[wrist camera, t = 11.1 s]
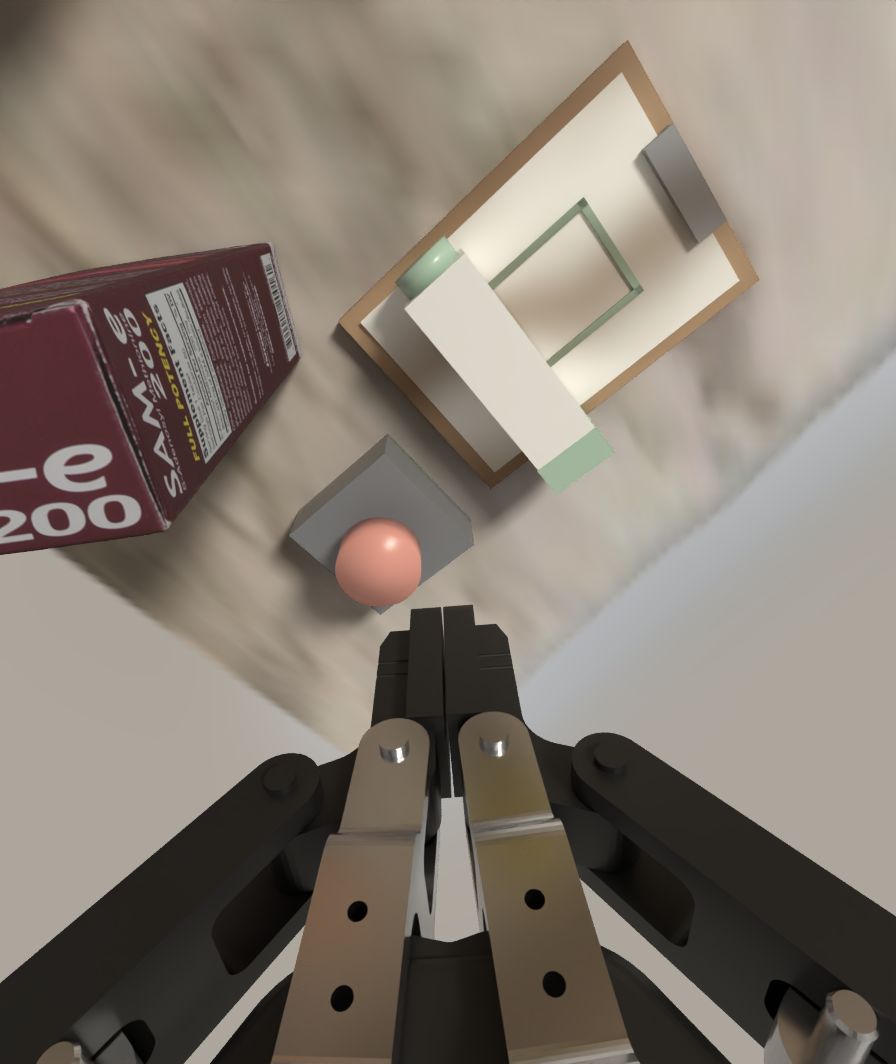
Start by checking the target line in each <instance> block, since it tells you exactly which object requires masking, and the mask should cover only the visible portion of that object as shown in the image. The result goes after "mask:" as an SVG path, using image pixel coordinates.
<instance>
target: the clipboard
mask: <svg viewBox="0 0 896 1064" xmlns="http://www.w3.org/2000/svg"><path fill="white" fill-rule="evenodd" d="M443 236H445V237H446V239H447V240H448V241H449V243H450V244H451V245H452V247H453V248H454V249H455V251H456V252H457V251H458V250H459V249H460V248H461V249H462V250H463V251H464V253H465V254H466V255H467V257H468V258H469V259H470V261H471V262H472V263H473V265H474V266H475V267H476V269H477V270H478V271H479V273H480V274H481V275H482V277H483V278H484V279H485V281H486V282H487V283H488V285H489V286H490V287H491V289H492V290H493V291H494V293H495V294H496V295H497V297H498V298H499V299H500V301H501V302H502V303H503V305H504V306H505V307H506V309H507V310H508V311H509V313H510V314H511V315H512V317H513V318H514V319H515V321H516V322H517V324H518V325H519V326H520V328H521V329H522V330H523V332H524V333H525V334H526V336H527V337H528V338H529V340H530V341H531V342H532V344H533V345H534V346H535V348H536V349H537V350H538V352H539V353H540V354H541V356H542V357H543V358H544V360H545V361H546V362H547V364H548V365H549V366H550V368H551V369H552V370H553V372H554V373H555V374H556V376H557V377H558V378H559V380H560V381H561V382H562V384H563V385H564V386H565V388H566V389H567V390H568V392H569V393H570V394H571V396H572V397H573V398H574V400H575V401H576V403H577V404H578V405H579V406H580V407H581V408H582V409H583V410H584V412H585V413H586V414H588V413H589V412H590V411H591V410H593V409H594V408H595V407H597V406H598V405H599V404H600V403H602V402H603V401H604V400H606V399H607V398H608V397H609V396H611V395H612V394H613V393H615V392H616V391H617V390H618V389H620V388H621V387H622V386H624V385H625V384H626V383H627V382H629V381H630V380H631V379H633V378H634V377H635V376H636V375H638V374H639V373H640V372H642V371H643V370H644V369H646V368H647V367H648V366H649V365H651V364H652V363H653V362H655V361H656V360H657V359H658V358H660V357H661V356H662V355H664V354H665V353H666V352H667V351H669V350H670V349H671V348H673V347H674V346H675V345H676V344H678V343H679V342H680V341H682V340H683V339H684V338H685V337H687V336H688V335H689V334H691V333H692V332H693V331H694V330H696V329H697V328H698V327H700V326H701V325H702V324H704V323H705V322H706V321H707V320H709V319H710V318H711V317H713V316H714V315H715V314H716V313H718V312H719V311H720V310H722V309H723V308H724V307H725V306H727V305H728V304H729V303H731V302H732V301H733V300H734V299H736V298H737V297H738V296H740V295H741V294H742V293H743V292H745V291H746V290H747V289H749V288H750V287H751V286H752V285H754V284H755V283H756V282H758V281H759V278H758V276H757V274H756V272H755V270H754V269H753V267H752V265H751V263H750V261H749V260H748V258H747V256H746V254H745V252H744V250H743V249H742V247H741V245H740V243H739V241H738V240H737V238H736V236H735V234H734V232H733V230H732V229H731V227H730V225H729V223H728V221H727V219H726V218H725V216H724V214H723V212H722V210H721V208H720V207H719V205H718V203H717V201H716V199H715V198H714V196H713V194H712V192H711V190H710V188H709V187H708V185H707V183H706V181H705V179H704V178H703V176H702V174H701V172H700V170H699V168H698V167H697V165H696V163H695V161H694V159H693V158H692V156H691V154H690V152H689V150H688V148H687V147H686V145H685V143H684V141H683V139H682V137H681V136H680V134H679V132H678V130H677V128H676V127H675V125H674V123H673V121H672V119H671V118H670V116H669V114H668V112H667V110H666V108H665V107H664V105H663V103H662V101H661V99H660V97H659V96H658V94H657V92H656V90H655V88H654V87H653V85H652V83H651V81H650V79H649V77H648V76H647V74H646V72H645V70H644V68H643V67H642V65H641V63H640V61H639V59H638V57H637V56H636V54H635V52H634V50H633V48H632V46H631V45H630V43H629V41H628V40H627V41H626V42H625V43H623V44H622V45H621V46H620V47H619V48H618V49H617V50H616V51H615V52H614V53H613V54H612V55H611V56H610V57H609V58H608V59H607V60H606V61H605V62H604V63H603V64H602V65H601V66H599V67H598V68H597V69H596V70H595V71H594V72H593V73H592V74H591V75H590V76H589V77H588V78H587V79H586V80H585V81H584V82H583V83H582V84H581V85H580V86H579V87H578V88H577V89H576V90H575V91H574V92H573V93H572V94H571V95H570V96H569V97H568V98H567V99H566V100H565V101H564V102H563V103H561V104H560V105H559V106H558V107H557V108H556V109H555V110H554V111H553V112H552V113H551V114H550V115H549V116H548V117H547V118H546V119H545V120H544V121H543V122H542V123H541V124H540V125H539V126H538V127H537V128H536V129H535V130H534V131H533V132H532V133H531V134H530V135H529V136H528V137H527V138H526V139H525V140H523V141H522V142H521V143H520V144H519V145H518V146H517V147H516V148H515V149H514V150H513V151H512V152H511V153H510V154H509V155H508V156H507V157H506V158H505V159H504V160H503V161H502V162H501V163H500V164H499V165H498V166H497V167H496V168H495V169H494V170H493V171H492V172H491V173H490V174H489V175H488V176H487V177H485V178H484V179H483V180H482V181H481V182H480V183H479V184H478V185H477V186H476V187H475V188H474V189H473V190H472V191H471V192H470V193H469V194H468V195H467V196H466V197H465V198H464V199H463V200H462V201H461V202H460V203H459V204H458V205H457V206H456V207H455V208H454V209H453V210H452V211H451V212H450V213H449V214H447V215H446V216H445V217H444V218H443V219H442V220H441V221H440V222H439V223H438V224H437V225H436V226H435V227H434V228H433V229H432V230H431V231H430V232H429V233H428V234H427V235H426V236H425V237H424V238H423V239H422V240H421V241H420V242H419V243H418V244H417V245H416V246H415V247H414V248H413V249H412V250H411V251H409V252H408V253H407V254H406V255H405V256H404V257H403V258H402V259H401V260H400V261H399V262H398V263H397V264H396V265H395V266H394V267H393V268H392V269H391V270H390V271H389V272H388V273H387V274H386V275H385V276H384V277H383V278H382V279H381V280H380V281H379V282H378V283H377V284H376V285H375V286H374V287H373V288H371V289H370V290H369V291H368V292H367V293H366V294H365V295H364V296H363V297H362V298H361V299H360V300H359V301H358V302H357V303H356V304H355V305H354V306H353V307H352V308H351V309H350V310H349V311H348V312H347V313H346V314H345V315H344V316H343V317H342V318H341V319H340V320H339V321H338V322H339V323H340V324H341V325H342V326H343V328H344V329H345V330H346V331H347V332H348V333H349V334H350V335H351V336H352V337H353V338H354V340H355V341H356V342H357V343H358V344H359V345H360V346H361V347H362V348H363V349H364V351H365V352H366V353H367V354H368V355H369V356H370V357H371V358H372V359H373V360H374V361H375V363H376V364H377V365H378V366H379V367H380V368H381V369H382V370H383V371H384V372H385V374H386V375H387V376H388V377H389V378H390V379H391V380H392V381H393V382H394V383H395V385H396V386H397V387H398V388H399V389H400V390H401V391H402V392H403V393H404V394H405V395H406V397H407V398H408V399H409V400H410V401H411V402H412V403H413V404H414V405H415V406H416V408H417V409H418V410H419V411H420V412H421V413H422V414H423V415H424V416H425V417H426V418H427V420H428V421H429V422H430V423H431V424H432V425H433V426H434V427H435V428H436V429H437V431H438V432H439V433H440V434H441V435H442V436H443V437H444V438H445V439H446V440H447V442H448V443H449V444H450V445H451V446H452V447H453V448H454V449H455V450H456V451H457V452H458V454H459V455H460V456H461V457H462V458H463V459H464V460H465V461H466V462H467V463H468V465H469V466H470V467H471V468H472V469H473V470H474V471H475V472H476V473H477V474H478V475H479V477H480V478H481V479H482V480H483V481H484V482H485V483H486V484H487V485H488V486H489V488H490V489H491V488H492V487H493V486H495V485H496V484H497V483H499V482H500V481H501V480H502V479H504V478H505V477H506V476H508V475H509V474H510V473H511V472H513V471H514V470H515V469H517V468H518V467H519V466H521V465H522V464H523V463H524V462H526V461H527V460H528V457H527V456H526V455H525V454H524V453H523V451H522V450H521V449H520V448H519V447H518V445H517V444H516V443H515V442H514V441H513V439H512V438H511V437H510V436H509V435H508V433H507V432H506V431H505V430H504V429H503V427H502V426H501V425H500V424H499V422H498V421H497V420H496V419H495V418H494V416H493V415H492V414H491V413H490V412H489V410H488V409H487V408H486V407H485V406H484V404H483V403H482V402H481V401H480V400H479V398H478V397H477V396H476V395H475V394H474V392H473V391H472V390H471V389H470V388H469V386H468V385H467V384H466V383H465V381H464V380H463V379H462V378H461V377H460V375H459V374H458V373H457V372H456V371H455V369H454V368H453V367H452V366H451V365H450V363H449V362H448V361H447V360H446V359H445V357H444V356H443V355H442V354H441V353H440V351H439V350H438V349H437V348H436V347H435V345H434V344H433V343H432V342H431V341H430V339H429V338H428V337H427V336H426V334H425V333H424V332H423V331H422V330H421V328H420V327H419V326H418V325H417V324H416V322H415V321H414V320H413V319H412V318H411V316H410V315H409V314H408V313H407V312H406V310H405V309H404V308H405V303H406V298H407V296H406V295H405V294H404V293H403V292H402V290H401V289H400V288H399V287H398V285H397V284H396V283H395V281H396V280H397V279H398V278H399V277H400V276H401V275H402V273H403V272H404V271H405V270H406V269H407V268H408V267H409V266H410V265H412V264H413V263H414V262H415V261H416V260H417V259H418V258H419V257H420V256H421V255H422V254H423V253H424V252H425V251H426V250H427V249H429V248H430V247H431V246H432V245H433V244H434V243H435V242H437V241H438V240H439V239H440V238H441V237H443Z"/></svg>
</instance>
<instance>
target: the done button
mask: <svg viewBox="0 0 896 1064" xmlns="http://www.w3.org/2000/svg"><path fill="white" fill-rule="evenodd" d="M335 574H336V578H337V581H338V583H339V585H340V587H341V588H342V590H343V591H344V592H345V593H346V594H347V595H348V596H349V597H351V598H352V599H354V600H355V601H357V602H360V603H362V604H365V605H369V606H376V607H384V606H390V605H394V604H397V603H400V602H402V601H403V600H405V599H407V598H408V597H409V596H410V595H411V594H412V593H413V592H414V591H415V589H416V588H417V586H418V584H419V582H420V578H421V546H420V543H419V541H418V539H417V537H416V535H415V534H414V533H413V532H412V530H411V529H409V528H408V527H407V526H406V525H404V524H403V523H401V522H399V521H396V520H393V519H389V518H383V517H375V518H369V519H365V520H362V521H360V522H358V523H356V524H355V525H353V526H352V527H351V528H350V529H349V530H348V531H347V532H346V533H345V535H344V537H343V538H342V541H341V544H340V548H339V552H338V556H337V560H336V565H335Z"/></svg>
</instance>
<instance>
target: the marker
mask: <svg viewBox="0 0 896 1064" xmlns="http://www.w3.org/2000/svg"><path fill="white" fill-rule="evenodd" d="M395 283H396V284H397V285H398V287H399V288H400V289H401V290H402V292H403V293H404V294H405V295H406V296H407V298H406V303H405V308H404V309H405V310H406V312H407V313H408V314H409V315H410V316H411V318H412V319H413V320H414V321H415V322H416V324H417V325H418V326H419V327H420V328H421V330H422V331H423V332H424V333H425V334H426V336H427V337H428V338H429V339H430V341H431V342H432V343H433V344H434V345H435V347H436V348H437V349H438V350H439V351H440V353H441V354H442V355H443V356H444V357H445V359H446V360H447V361H448V362H449V363H450V365H451V366H452V367H453V368H454V369H455V371H456V372H457V373H458V374H459V375H460V377H461V378H462V379H463V380H464V381H465V383H466V384H467V385H468V386H469V388H470V389H471V390H472V391H473V392H474V394H475V395H476V396H477V397H478V398H479V400H480V401H481V402H482V403H483V404H484V406H485V407H486V408H487V409H488V410H489V412H490V413H491V414H492V415H493V416H494V418H495V419H496V420H497V421H498V422H499V424H500V425H501V426H502V427H503V429H504V430H505V431H506V432H507V433H508V435H509V436H510V437H511V438H512V439H513V441H514V442H515V443H516V444H517V445H518V447H519V448H520V449H521V450H522V451H523V453H524V454H525V455H526V456H527V457H528V459H529V460H530V461H531V462H532V463H533V465H534V466H535V467H536V470H537V472H538V473H539V474H540V475H541V476H542V478H543V479H544V480H545V481H546V482H547V484H548V485H549V486H550V487H551V489H552V490H553V491H554V492H555V493H556V495H557V494H559V493H560V492H561V491H563V490H564V489H566V488H567V487H568V486H570V485H571V484H572V483H574V482H575V481H577V480H578V479H579V478H581V477H582V476H583V475H585V474H586V473H588V472H589V471H590V470H592V469H593V468H595V467H596V466H597V465H599V464H600V463H601V462H603V461H604V460H606V459H607V458H608V457H610V456H611V455H612V454H614V453H615V451H614V450H613V449H612V447H611V446H610V445H609V443H608V442H607V440H606V439H605V438H604V436H603V435H602V434H601V432H600V431H599V430H598V428H597V427H596V426H595V425H594V423H593V422H592V421H591V419H590V418H589V417H588V416H587V414H586V413H585V412H584V410H583V409H582V408H581V407H580V406H579V405H578V404H577V403H576V401H575V400H574V398H573V397H572V396H571V394H570V393H569V392H568V390H567V389H566V388H565V386H564V385H563V384H562V382H561V381H560V380H559V378H558V377H557V376H556V374H555V373H554V372H553V370H552V369H551V368H550V366H549V365H548V364H547V362H546V361H545V360H544V358H543V357H542V356H541V354H540V353H539V352H538V350H537V349H536V348H535V346H534V345H533V344H532V342H531V341H530V340H529V338H528V337H527V336H526V334H525V333H524V332H523V330H522V329H521V328H520V326H519V325H518V324H517V322H516V321H515V319H514V318H513V317H512V315H511V314H510V313H509V311H508V310H507V309H506V307H505V306H504V305H503V303H502V302H501V301H500V299H499V298H498V297H497V295H496V294H495V293H494V291H493V290H492V289H491V287H490V286H489V285H488V283H487V282H486V281H485V279H484V278H483V277H482V275H481V274H480V273H479V271H478V270H477V269H476V267H475V266H474V265H473V263H472V262H471V261H470V259H469V258H468V257H467V255H466V254H465V253H464V251H463V250H462V249H461V248H460V249H459V250H458V251H457V252H456V251H455V249H454V248H453V247H452V245H451V244H450V243H449V241H448V240H447V239H446V237H445V236H443V237H441V238H440V239H439V240H438V241H437V242H435V243H434V244H433V245H432V246H431V247H430V248H429V249H427V250H426V251H425V252H424V253H423V254H422V255H421V256H420V257H419V258H418V259H417V260H416V261H415V262H414V263H413V264H412V265H410V266H409V267H408V268H407V269H406V270H405V271H404V272H403V273H402V275H401V276H400V277H399V278H398V279H397V280H396V281H395Z"/></svg>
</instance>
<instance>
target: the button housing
mask: <svg viewBox="0 0 896 1064" xmlns="http://www.w3.org/2000/svg"><path fill="white" fill-rule="evenodd" d="M375 517H383V518H389V519H393V520H396V521H399V522H401V523H403V524H404V525H406V526H407V527H408V528H409V529H411V530H412V532H413V533H414V534H415V535H416V537H417V539H418V541H419V543H420V546H421V578H420V582H419V584H418V586H419V585H421V584H422V583H423V582H425V581H426V580H427V579H429V578H430V577H431V576H433V575H434V574H435V573H437V572H438V571H439V570H441V569H442V568H443V567H445V566H446V565H447V564H449V563H450V562H451V561H453V560H454V559H456V558H457V557H458V556H460V555H461V554H462V553H464V552H465V551H466V550H468V549H469V548H470V547H472V546H473V545H474V541H473V534H472V528H471V521H470V519H469V518H468V517H467V516H466V515H465V514H464V513H463V512H462V511H461V510H460V508H459V507H458V506H457V505H456V504H455V503H454V502H453V501H452V500H451V499H450V498H449V497H448V496H447V495H446V494H445V493H444V492H443V491H442V490H441V489H440V488H439V487H438V486H437V485H436V483H435V482H434V481H433V480H432V479H431V478H430V477H429V476H428V475H427V474H426V473H425V472H424V471H423V470H422V469H421V468H420V467H419V466H418V465H417V464H416V463H415V462H414V461H413V460H412V458H411V457H410V456H409V455H408V454H407V453H406V452H405V451H404V450H403V449H402V448H401V447H400V446H399V445H398V444H397V443H396V442H395V441H394V440H393V439H392V438H391V437H390V436H389V434H387V435H386V436H385V437H384V438H383V439H381V440H380V441H379V442H378V443H377V444H376V445H375V446H373V447H372V448H371V449H370V450H369V451H368V452H366V453H365V454H364V455H363V456H362V457H361V458H359V459H358V460H357V461H356V462H355V463H354V464H353V465H351V466H350V467H349V468H348V469H347V470H346V471H344V472H343V473H342V474H341V475H340V476H339V477H338V478H336V479H335V480H334V481H333V482H332V483H331V484H329V485H328V486H327V487H326V488H325V489H324V490H323V491H321V492H320V493H319V494H318V495H317V496H316V497H314V498H313V499H312V500H311V501H310V502H309V503H308V504H306V505H305V506H304V507H303V508H302V509H301V510H299V512H298V515H297V517H296V519H295V522H294V524H293V527H292V529H291V531H290V534H289V536H290V537H291V538H292V539H293V540H295V541H296V542H297V543H298V544H299V545H300V546H302V547H303V548H304V549H305V550H306V551H307V552H308V553H310V554H311V555H312V556H313V557H314V558H315V559H317V560H318V561H319V562H320V563H321V564H322V565H323V566H325V567H326V568H327V569H328V570H329V571H330V572H332V573H333V574H334V575H335V576H336V574H335V565H336V560H337V556H338V552H339V548H340V544H341V541H342V538H343V537H344V535H345V533H346V532H347V531H348V530H349V529H350V528H351V527H352V526H353V525H355V524H356V523H358V522H360V521H362V520H365V519H369V518H375ZM418 586H417V587H418ZM391 606H393V605H390V606H384V607H376V606H371V607H372V608H373V609H374V610H375V611H377V612H378V613H379V614H380V615H381V614H382V613H383V612H385V611H386V610H387V609H389V608H390V607H391Z"/></svg>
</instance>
